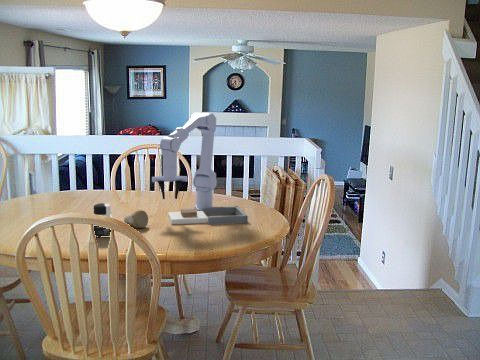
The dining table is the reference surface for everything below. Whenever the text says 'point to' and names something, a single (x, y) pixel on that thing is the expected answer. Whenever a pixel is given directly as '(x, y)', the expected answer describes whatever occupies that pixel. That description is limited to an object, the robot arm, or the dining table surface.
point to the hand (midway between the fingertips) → (169, 198)
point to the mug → (137, 219)
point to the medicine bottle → (104, 211)
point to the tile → (188, 213)
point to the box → (237, 218)
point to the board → (187, 218)
